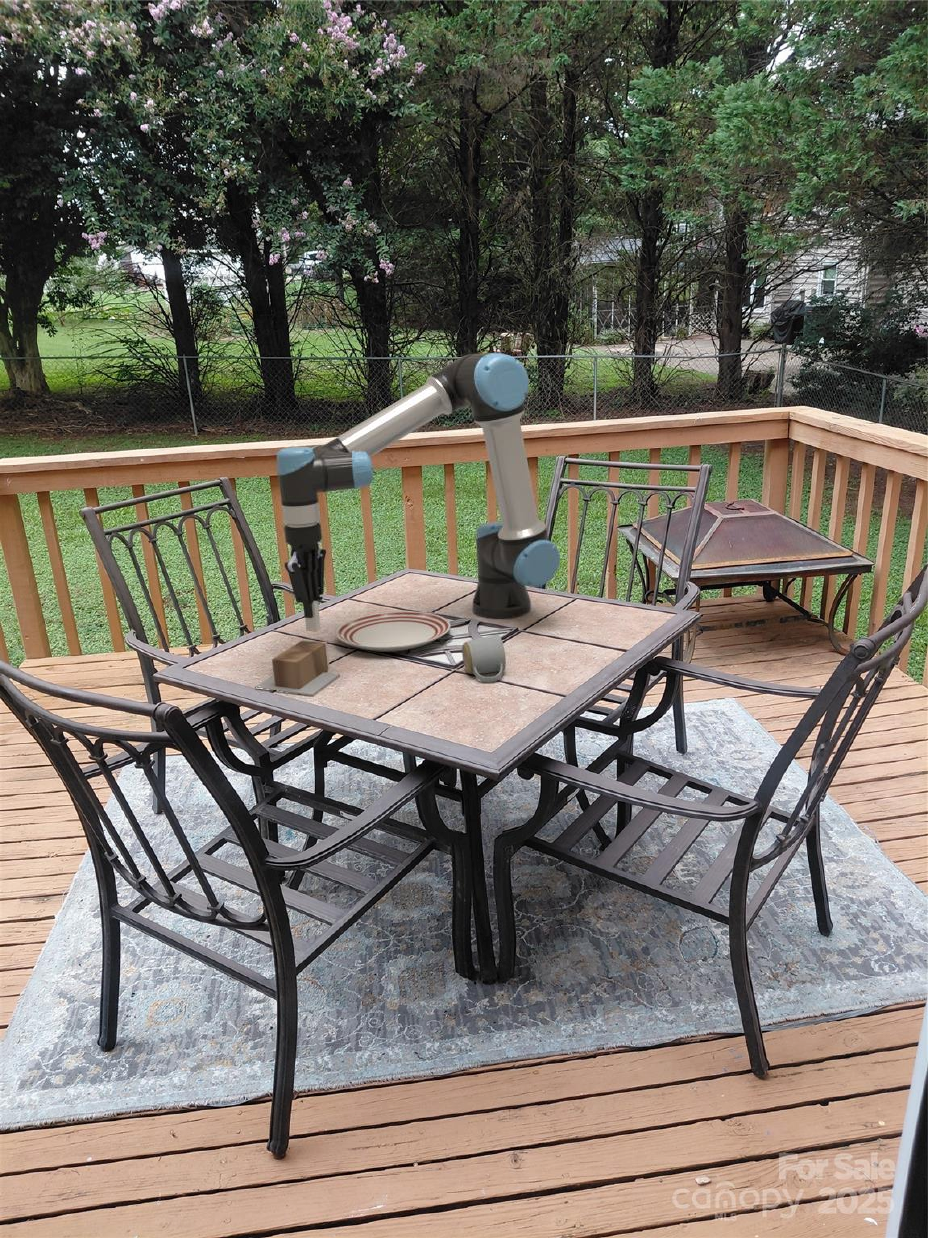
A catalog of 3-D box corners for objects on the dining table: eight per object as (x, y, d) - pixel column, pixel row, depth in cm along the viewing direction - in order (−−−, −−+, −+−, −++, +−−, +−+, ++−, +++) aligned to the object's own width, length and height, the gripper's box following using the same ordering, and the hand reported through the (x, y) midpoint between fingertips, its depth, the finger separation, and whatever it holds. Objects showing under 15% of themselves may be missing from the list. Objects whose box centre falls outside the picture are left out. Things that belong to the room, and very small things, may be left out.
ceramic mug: (461, 667, 181) (459, 634, 179) (497, 662, 183) (496, 629, 181) (473, 686, 172) (472, 652, 169) (511, 681, 173) (510, 647, 171)
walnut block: (326, 642, 181) (296, 662, 171) (329, 667, 183) (300, 689, 173) (302, 639, 183) (271, 659, 173) (305, 665, 185) (275, 686, 175)
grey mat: (339, 676, 180) (339, 674, 179) (313, 696, 170) (312, 694, 170) (284, 669, 185) (284, 667, 184) (255, 689, 175) (254, 687, 175)
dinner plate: (348, 621, 215) (347, 609, 214) (454, 619, 213) (454, 607, 212) (325, 661, 189) (324, 648, 188) (446, 659, 187) (445, 645, 186)
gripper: (303, 516, 181) (314, 619, 189) (269, 529, 170) (282, 638, 177) (333, 517, 178) (343, 622, 186) (300, 531, 167) (312, 641, 175)
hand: (313, 630), depth 182 cm, fingers closed
